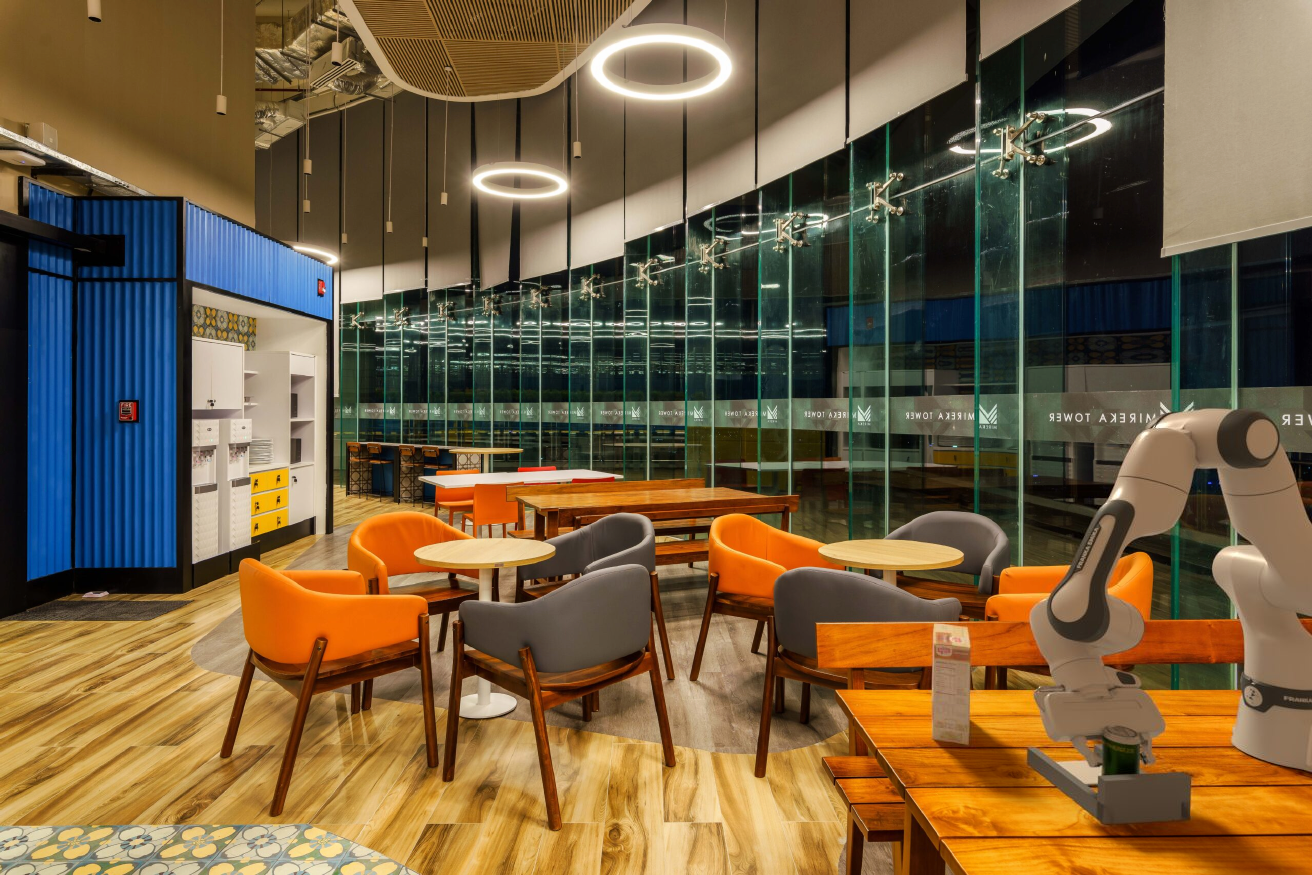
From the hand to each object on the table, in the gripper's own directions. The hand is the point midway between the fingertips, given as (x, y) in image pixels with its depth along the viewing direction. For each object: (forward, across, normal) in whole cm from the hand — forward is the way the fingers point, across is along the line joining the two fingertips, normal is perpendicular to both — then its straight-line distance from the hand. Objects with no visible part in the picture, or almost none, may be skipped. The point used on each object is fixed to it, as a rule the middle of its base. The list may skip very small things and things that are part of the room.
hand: (1123, 764), depth 120 cm
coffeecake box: (-17, -14, +26) cm, 34 cm away
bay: (+1, 0, +8) cm, 8 cm away
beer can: (+4, 0, +5) cm, 7 cm away
